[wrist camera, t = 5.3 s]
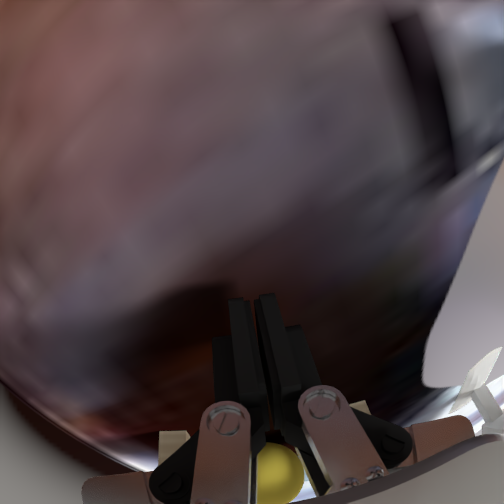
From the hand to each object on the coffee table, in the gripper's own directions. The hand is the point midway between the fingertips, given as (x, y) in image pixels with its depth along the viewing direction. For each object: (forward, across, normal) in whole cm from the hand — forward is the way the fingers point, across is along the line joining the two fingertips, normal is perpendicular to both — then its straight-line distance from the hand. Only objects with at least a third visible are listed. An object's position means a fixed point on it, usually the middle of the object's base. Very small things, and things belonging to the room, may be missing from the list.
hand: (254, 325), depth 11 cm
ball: (-2, 0, +16) cm, 16 cm away
